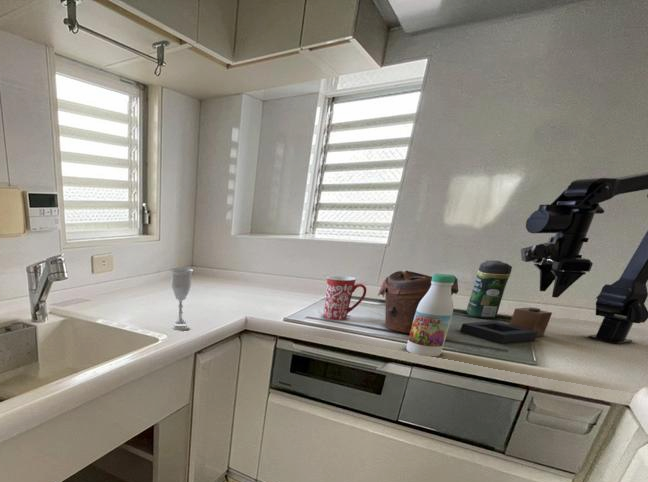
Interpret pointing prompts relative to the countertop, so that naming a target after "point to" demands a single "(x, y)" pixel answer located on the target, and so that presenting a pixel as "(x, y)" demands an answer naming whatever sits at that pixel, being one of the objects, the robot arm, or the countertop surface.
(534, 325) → the walnut block
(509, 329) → the dark square frame
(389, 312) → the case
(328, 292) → the mug
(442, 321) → the milk bottle
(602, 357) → the countertop surface
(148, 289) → the countertop surface
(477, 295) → the coffee jar
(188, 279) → the chalice
